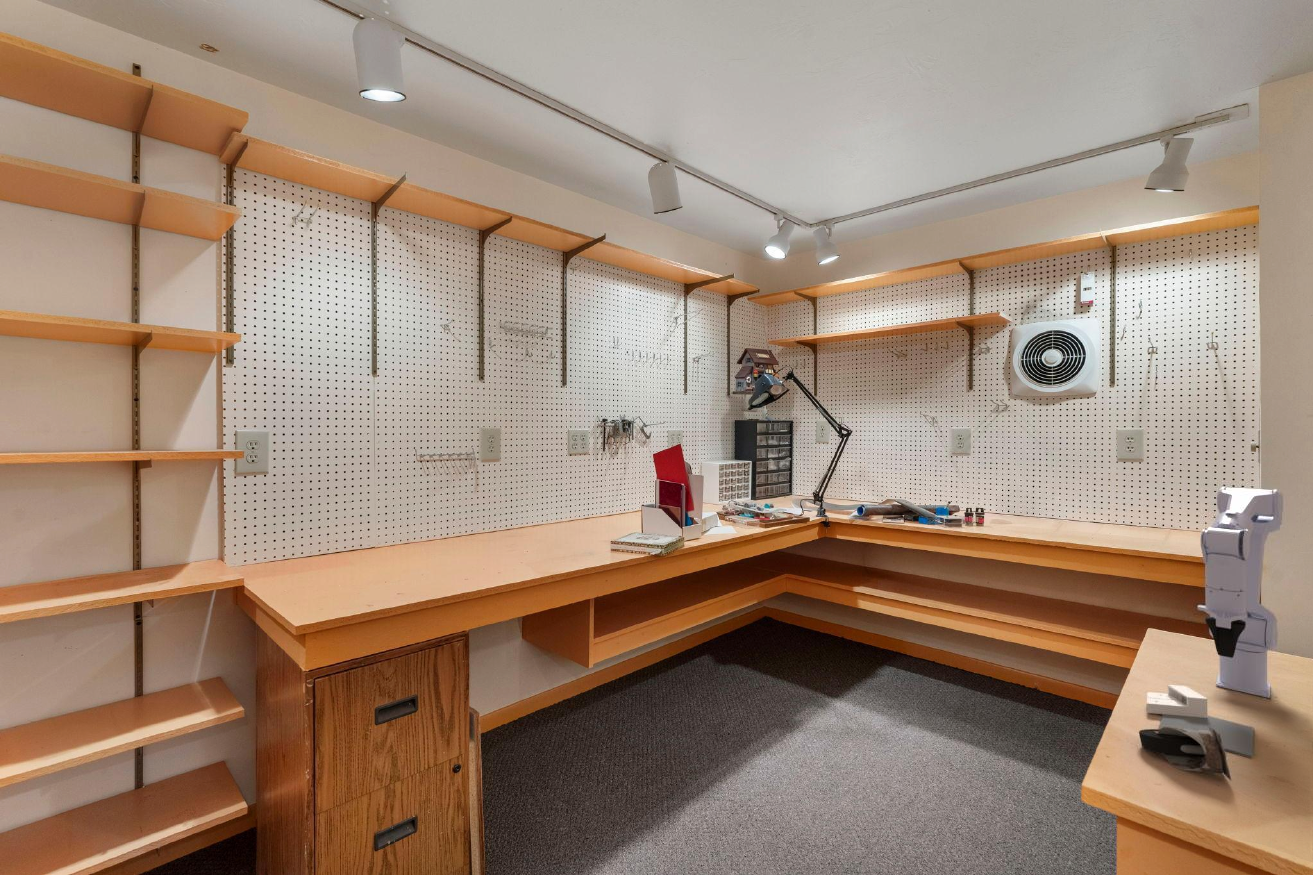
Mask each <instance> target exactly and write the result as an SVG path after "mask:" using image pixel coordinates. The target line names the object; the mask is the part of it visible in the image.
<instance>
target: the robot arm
mask: <svg viewBox="0 0 1313 875" xmlns="http://www.w3.org/2000/svg"><path fill="white" fill-rule="evenodd" d="M1216 505H1217V510H1218V513H1219V514H1218V515H1217V516H1216V517H1215V520H1214V521H1213V523H1212V524H1211V526H1210V527H1208V528H1207V529H1205V528H1204V529H1202V531H1201V535H1200V549H1201V553H1202V562H1203V564H1204V565H1205V566H1204V568H1205V570H1204V571H1205V573H1204V574H1205V575H1204V576H1205V578H1204V579H1205V580H1204V582H1205V584H1204V587H1205V588H1204V589H1205V590H1204V592H1205V593H1204V594H1205V595H1204V596H1205V605H1202V604H1199V605H1197V610H1198V611H1202V612H1205V613H1206V614H1208V616H1206V617H1205V624H1206V625H1207V627H1208V631H1209V635H1210V637H1212V638H1213V642H1214V646H1215V650H1216V653H1217V655H1218V656H1219V659H1218V660H1219V665H1218V666H1219V672H1218V673H1217V677H1216V683H1215V686H1217V687H1220V688H1224V689H1229V690H1233V691H1237V692H1241V693H1245V694H1250V695H1256V696H1259V697H1264V698H1271V683H1270V682H1268V652H1269V651H1273V650H1275V649H1276V648H1277V644H1278V636H1279V635H1278V633H1279V632H1278V620H1277V617H1276V615H1275V614H1274V612H1272V611H1271V610H1270V609H1268V608H1266V607H1265V606H1264V605H1263V604H1261V602H1260V601H1261V590H1262V587H1261V586H1262V580H1263V579H1262V578H1263V565H1264V556H1265V554H1264V553H1265V544H1266V540H1267V539H1268V536H1269V534H1270V533H1273V532H1275V531H1278V530H1279V531H1280V528H1281V525H1282V524H1283V522H1282V521H1283V513H1284V512H1283V511H1284V497H1283V493H1282V492H1281V491H1280V490H1279V489H1262V488H1261V489H1260V488H1258V489H1256V488H1241V487H1240V488H1238V487H1235V488H1234V487H1226V486H1221V488H1220V489H1218V491H1217V497H1216Z"/></svg>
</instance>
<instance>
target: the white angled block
mask: <svg viewBox="0 0 1313 875" xmlns="http://www.w3.org/2000/svg"><path fill="white" fill-rule="evenodd" d="M1146 696H1147V697H1146V713H1147V714H1158V715H1164V714H1168V715H1179V716H1191V717H1203V718H1207V716H1208V698H1207V697H1205V696H1203V695H1202V694H1200V693H1199V692H1198V691H1197V692H1196V691H1195V690H1194V689H1191V688H1190V687H1189V686H1187V685H1177V684H1173V685H1172V684H1167V693H1162V692H1152V691H1151V692H1150V691H1148V692H1147V694H1146Z"/></svg>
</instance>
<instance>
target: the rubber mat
mask: <svg viewBox="0 0 1313 875" xmlns="http://www.w3.org/2000/svg"><path fill="white" fill-rule="evenodd" d="M1209 726H1210V727H1212V728H1213V729H1214V730H1216V731H1217V732H1218V733H1219V734H1220V736H1221V740H1222V744H1223V748H1224V750H1225V752H1227V753H1228V752H1229V753H1231V754H1236V755H1238V756H1242V757H1246V758H1249V759H1253V754H1254V752H1253V751H1254V738H1255V727H1253V726H1249V725H1246V724H1241V723H1239V722H1238V723H1237V722H1233V721H1230V720H1225V719H1222V718H1218V717H1215V716H1210V715H1207V718H1203V717H1191V716H1179V715H1168V714H1162V718H1161V721H1160V723H1159V725H1158V728H1157V729H1161V728H1163V727H1173V728H1185V729H1196V730H1207V731H1210V729H1209Z"/></svg>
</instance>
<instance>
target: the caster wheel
mask: <svg viewBox="0 0 1313 875" xmlns="http://www.w3.org/2000/svg"><path fill="white" fill-rule="evenodd" d="M1209 729H1210V731H1207V730H1196V729H1185V728H1173V727H1163V728H1161V729H1158V728H1157V729H1155V728H1151V729H1150V728H1149V729H1148V728H1147V729H1140V730H1139V731H1138V734H1139V738H1140V743H1141V747H1142V748H1143V749H1144V750H1146V751H1149V752H1152V753H1157V754H1160V755H1163V756H1164V758H1165V759H1166V761H1167V762H1168V763H1169V764H1170V765H1172V766H1174V767H1175V768H1177V769H1179V770H1183V771H1190V772H1198V773H1199V772H1200V773H1207V774H1215V775H1216V774H1217V775H1224V776H1226V777H1227V779H1229V780H1230V781H1232V777H1231V776H1232V775H1231V772H1230V769H1229V764H1228V760H1227V752H1226V751H1225V750H1224V748H1223V744H1222V740H1221V736H1220V734H1219V733H1218V732H1217V731H1216V730H1214V729H1213V728H1212V727H1210V726H1209Z"/></svg>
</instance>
